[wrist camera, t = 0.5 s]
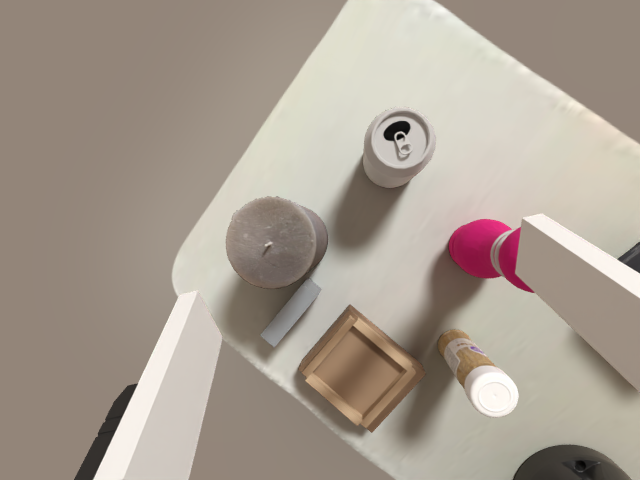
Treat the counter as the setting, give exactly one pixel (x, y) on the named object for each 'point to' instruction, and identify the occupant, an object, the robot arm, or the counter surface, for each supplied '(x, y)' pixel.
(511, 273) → the pepper mill
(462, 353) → the sprinkles bottle
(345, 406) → the socket block
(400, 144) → the can
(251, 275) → the pillar candle
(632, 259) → the small box
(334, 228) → the counter surface
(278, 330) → the backstop wall
